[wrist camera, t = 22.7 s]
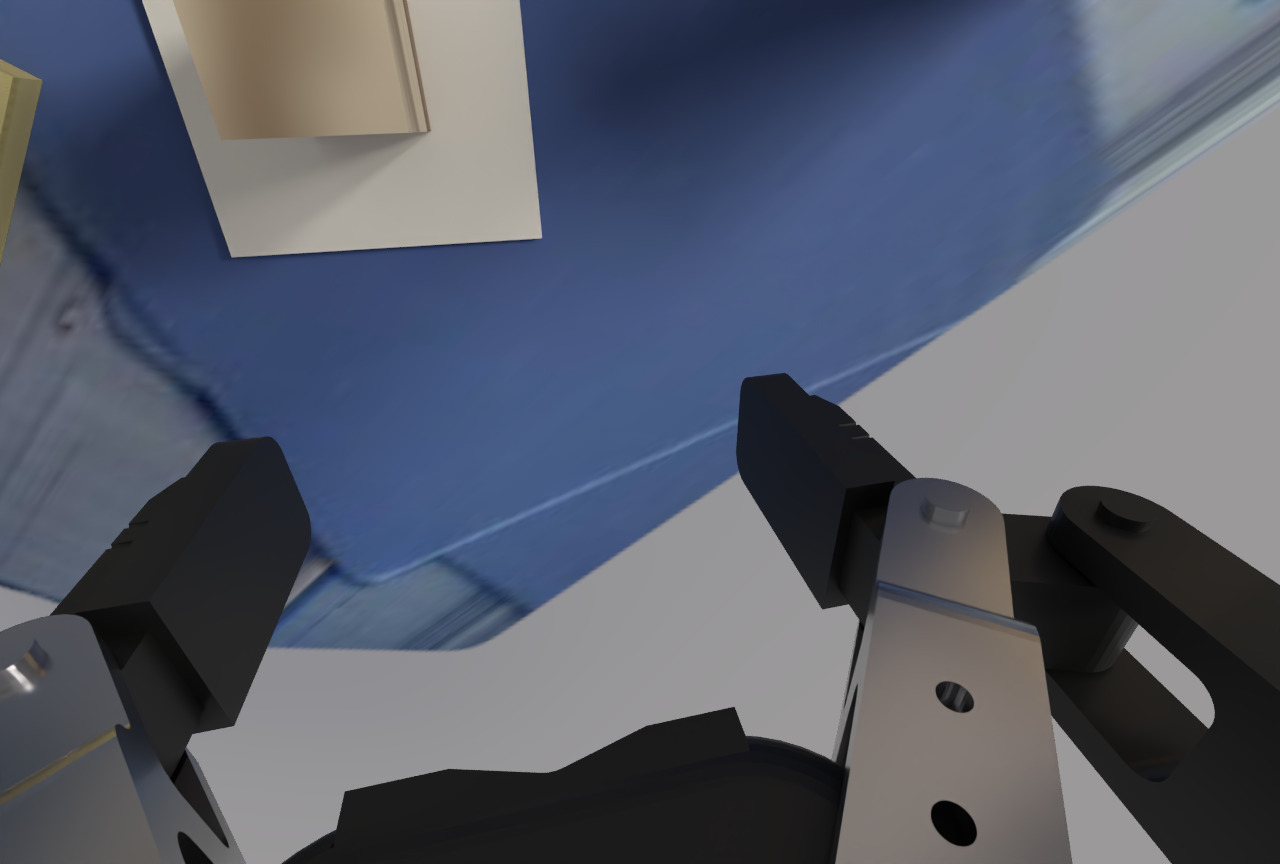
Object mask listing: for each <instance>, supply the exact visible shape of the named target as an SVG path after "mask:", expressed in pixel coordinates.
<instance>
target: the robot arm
mask: <svg viewBox="0 0 1280 864" xmlns="http://www.w3.org/2000/svg"><path fill="white" fill-rule="evenodd" d="M736 456H737V464H738V469H739V472H740V475H741V478H742V480H743V482H744V484H745V485H746V487H747V489H748V490H749V492H750V493H751V495H752V496H753V498H754V500H755V502H756V503H757V505H758V506H759V508H760V510H761V511H762V513H763V514H764V516H765V518H766V519H767V521H768V522H769V524H770V526H771V527H772V529H773V531H774V532H775V534H776V535H777V537H778V539H779V540H780V542H781V543H782V545H783V547H784V548H785V550H786V552H787V553H788V555H789V556H790V558H791V560H792V561H793V563H794V564H795V566H796V568H797V569H798V571H799V573H800V574H801V576H802V577H803V579H804V581H805V582H806V584H807V586H808V587H809V589H810V590H811V592H812V593H813V595H814V597H815V598H816V600H817V602H818V603H819V605H820V606H821V608H822V609H826V608H831V607H837V606H842V605H847V604H849V605H850V606H851V608H852V609H853V611H854V612H855V614H856V615H857V617H858V618H859V622H858V626H857V630H856V635H855V641H854V646H853V651H852V657H851V662H850V668H849V673H848V678H847V684H846V689H845V694H844V700H843V705H842V711H841V716H840V722H839V727H838V731H837V737H836V741H835V746H834V750H833V754H832V759H831V760H830V759H828V758H826V757H825V756H822V755H820V754H817V753H815V752H813V751H810V750H808V749H806V748H803V747H800V746H797V745H794V744H790V743H787V742H783V741H780V740H774V739H769V738H763V737H754V736H745V734H744V731H743V728H742V725H741V723H740V720H739V717H738V715H737V712H736V710H735V707H732V708H727V709H722V710H718V711H713V712H708V713H704V714H700V715H695V716H690V717H686V718H681V719H676V720H672V721H667V722H663V723H658V724H653V725H649V726H645V727H644V728H642V729H639V730H638V731H635V732H633V733H632V734H630V735H628V736H626V737H624V738H622V739H620V740H618V741H616V742H614V743H612V744H610V745H608V746H606V747H604V748H602V749H600V750H598V751H596V752H594V753H592V754H590V755H588V756H586V757H584V758H582V759H580V760H578V761H576V762H574V763H572V764H570V765H568V766H566V767H564V768H562V769H559V770H557V771H554V772H549V773H530V772H506V771H483V770H460V769H447V770H442V771H438V772H433V773H428V774H424V775H419V776H414V777H410V778H405V779H401V780H396V781H391V782H387V783H382V784H378V785H373V786H368V787H364V788H360V789H355V790H350V791H345V793H344V798H343V802H342V807H341V811H340V816H339V820H338V825H337V829H336V830H335V831H333V832H331V833H329V834H327V835H325V836H323V837H321V838H320V839H318V840H317V841H315V842H313V843H311V844H310V845H308V846H307V847H305V848H303V849H302V850H300V851H298V852H297V853H295V854H294V855H293V856H291V857H290V858H289V859H287V860H286V861H284V862H283V863H282V864H1072V858H1071V851H1070V843H1069V837H1068V830H1067V822H1066V816H1065V808H1064V801H1063V794H1062V788H1061V781H1060V774H1059V768H1058V760H1057V753H1056V746H1055V739H1054V732H1053V725H1052V718H1051V716H1052V717H1053V718H1054V719H1055V720H1056V722H1057V723H1058V724H1059V725H1060V727H1061V728H1062V729H1063V730H1064V732H1065V733H1066V734H1067V735H1068V736H1069V738H1070V739H1071V740H1072V741H1073V743H1074V744H1075V745H1076V746H1077V748H1078V749H1079V750H1080V751H1081V752H1082V754H1083V755H1084V756H1085V757H1086V759H1087V760H1088V761H1089V762H1090V763H1091V765H1092V766H1093V767H1094V768H1095V770H1096V771H1097V772H1098V773H1099V774H1100V776H1101V777H1102V778H1103V779H1104V781H1105V782H1106V783H1107V784H1108V786H1109V787H1110V788H1111V789H1112V791H1113V792H1114V793H1115V794H1116V795H1117V797H1118V798H1119V799H1120V800H1121V802H1122V803H1123V804H1124V805H1125V807H1126V808H1127V809H1128V810H1129V812H1130V813H1131V814H1132V815H1133V816H1134V818H1135V819H1136V820H1137V821H1138V823H1139V824H1140V825H1141V826H1142V828H1143V829H1144V830H1145V831H1146V832H1147V834H1148V835H1149V836H1150V837H1151V839H1152V840H1153V841H1154V842H1155V843H1156V845H1157V846H1158V847H1159V848H1160V850H1161V851H1162V852H1163V853H1164V854H1165V856H1166V857H1167V858H1168V860H1169V861H1170V862H1171V863H1172V864H1280V585H1279V584H1277V583H1276V582H1274V581H1273V580H1271V579H1270V578H1268V577H1267V576H1265V575H1264V574H1262V573H1261V572H1259V571H1258V570H1257V569H1255V568H1254V567H1252V566H1250V565H1249V564H1248V563H1246V562H1245V561H1243V560H1241V559H1240V558H1239V557H1237V556H1236V555H1234V554H1233V553H1231V552H1230V551H1228V550H1227V549H1225V548H1224V547H1222V546H1221V545H1219V544H1218V543H1216V542H1215V541H1213V540H1212V539H1210V538H1209V537H1207V536H1206V535H1205V534H1203V533H1201V532H1200V531H1199V530H1197V529H1196V528H1194V527H1193V526H1191V525H1190V524H1188V523H1187V522H1185V521H1183V520H1182V519H1181V518H1179V517H1178V516H1176V515H1175V514H1173V513H1172V512H1170V511H1169V510H1167V509H1165V508H1164V507H1162V506H1160V505H1158V504H1156V503H1154V502H1152V501H1150V500H1148V499H1145V498H1143V497H1141V496H1138V495H1135V494H1132V493H1129V492H1125V491H1122V490H1118V489H1113V488H1107V487H1100V486H1080V487H1074V488H1071V489H1069V490H1067V491H1066V492H1064V493H1063V494H1062V496H1061V497H1060V500H1059V502H1058V504H1057V506H1056V508H1055V511H1054V513H1053V515H1052V517H1045V516H1029V515H1015V514H1001V512H1000V510H999V509H998V508H997V507H996V505H994V504H993V502H991V501H990V500H989V499H988V498H986V497H985V496H984V495H982V494H981V493H979V492H977V491H975V490H973V489H971V488H969V487H966V486H964V485H961V484H958V483H955V482H951V481H947V480H942V479H935V478H915V477H914V476H913V475H912V474H911V473H910V472H909V471H908V470H907V469H906V468H905V467H903V466H902V465H901V464H900V463H899V462H898V461H897V460H896V459H895V458H894V457H893V456H892V455H890V453H888V452H887V451H886V450H885V449H884V448H883V447H882V446H881V445H880V444H879V443H878V442H877V441H876V440H874V438H869V434H868V433H867V432H866V431H865V430H864V429H863V428H862V427H861V426H860V425H856V422H855V421H854V420H853V419H852V418H851V417H850V416H849V415H848V414H846V412H844V411H843V410H842V409H841V408H840V407H839V406H837V405H835V404H833V403H831V402H829V401H827V400H824V399H822V398H820V397H818V396H816V395H812V396H809V395H808V394H807V393H806V392H805V391H804V390H803V389H802V388H801V387H800V386H799V385H798V384H797V383H796V382H795V381H794V380H793V379H792V378H791V377H790V376H789V375H788V374H786V373H780V374H772V375H764V376H755V377H747V378H745V379H744V380H743V382H742V385H741V391H740V405H739V419H738V433H737V447H736ZM310 541H311V524H310V518H309V514H308V511H307V509H306V506H305V504H304V502H303V499H302V497H301V495H300V492H299V490H298V487H297V485H296V483H295V480H294V478H293V476H292V473H291V471H290V469H289V466H288V464H287V461H286V459H285V457H284V454H283V452H282V450H281V448H280V446H279V445H278V443H277V442H276V441H275V440H274V439H273V438H271V437H259V438H251V439H243V440H234V441H226V442H218V443H215V444H213V445H212V446H211V447H210V448H209V449H208V450H207V452H206V453H205V454H204V455H203V456H202V458H201V459H200V460H199V461H198V463H197V464H196V465H195V466H194V467H193V469H192V470H191V471H190V472H189V474H188V475H187V476H186V477H184V478H181V479H179V480H178V481H176V482H175V483H173V484H172V485H170V486H169V487H167V488H166V489H165V490H163V491H162V492H160V493H159V494H157V495H156V496H154V497H153V498H151V499H150V500H149V501H148V502H147V503H146V504H145V506H144V507H143V508H142V509H141V510H140V511H139V512H138V514H137V515H136V516H135V517H134V518H133V519H132V521H131V522H130V523H129V528H127V529H124V530H123V531H122V532H121V533H120V535H119V536H118V537H117V538H116V539H115V540H114V541H113V543H112V544H111V545H112V549H107V550H106V551H105V552H104V553H103V554H102V555H101V557H100V558H99V559H98V560H97V561H96V562H95V564H94V565H93V566H92V567H91V568H90V569H89V570H88V572H87V573H86V574H85V575H84V576H83V577H82V579H81V580H80V581H79V582H78V583H77V584H76V586H75V587H74V588H73V589H72V590H71V591H70V593H69V594H68V595H67V596H66V597H65V598H64V599H63V601H62V602H61V603H60V604H59V605H58V606H57V608H56V609H55V610H54V611H53V612H52V613H51V615H50V616H47V617H41V618H38V619H34V620H31V621H27V622H24V623H21V624H18V625H16V626H13V627H11V628H9V629H6V630H4V631H1V632H0V864H246V862H245V860H244V858H243V856H242V854H241V852H240V850H239V848H238V846H237V843H236V841H235V839H234V837H233V835H232V833H231V831H230V829H229V827H228V824H227V822H226V820H225V818H224V816H223V814H222V812H221V810H220V808H219V806H218V804H217V801H216V799H215V797H214V795H213V793H212V791H211V789H210V787H209V785H208V783H207V780H206V778H205V776H204V774H203V772H202V770H201V768H200V766H199V764H198V762H197V761H196V759H195V758H194V756H193V755H192V754H191V753H190V752H189V750H188V749H187V748H186V746H187V744H188V742H189V740H190V738H191V736H192V734H195V733H200V732H205V731H211V730H216V729H220V728H226V727H231V726H234V725H235V722H236V720H237V718H238V715H239V713H240V710H241V708H242V706H243V703H244V701H245V699H246V696H247V693H248V691H249V689H250V687H251V684H252V682H253V679H254V677H255V675H256V673H257V670H258V668H259V665H260V663H261V661H262V658H263V656H264V654H265V651H266V649H267V646H268V644H269V642H270V639H271V637H272V635H273V632H274V630H275V627H276V625H277V623H278V620H279V618H280V616H281V613H282V611H283V609H284V606H285V604H286V601H287V599H288V597H289V594H290V592H291V590H292V587H293V585H294V582H295V580H296V578H297V575H298V573H299V571H300V568H301V566H302V563H303V561H304V559H305V556H306V554H307V552H308V549H309V546H310ZM1138 624H1139V625H1140V626H1141V627H1142V628H1144V629H1145V630H1146V631H1147V632H1148V633H1149V634H1150V635H1151V636H1153V637H1154V638H1155V639H1156V640H1157V641H1158V642H1159V643H1160V644H1161V645H1163V646H1164V647H1165V648H1166V649H1167V650H1168V651H1169V652H1170V653H1172V654H1173V655H1174V656H1175V657H1176V658H1177V659H1178V660H1179V661H1180V662H1182V663H1183V664H1184V665H1185V666H1186V667H1187V668H1188V669H1189V670H1191V671H1192V672H1193V673H1194V674H1195V675H1196V676H1197V677H1198V678H1199V679H1200V681H1201V682H1202V683H1203V684H1204V686H1205V687H1206V689H1207V690H1208V692H1209V694H1210V696H1211V698H1212V701H1213V704H1214V709H1215V718H1214V722H1213V724H1212V725H1211V727H1210V728H1209V729H1208V728H1207V727H1206V726H1205V725H1204V724H1203V723H1202V722H1201V721H1200V720H1199V719H1198V718H1197V717H1196V716H1194V715H1193V714H1192V713H1191V712H1190V711H1189V710H1188V709H1187V708H1186V707H1185V706H1184V705H1183V704H1182V703H1181V702H1180V701H1179V700H1178V699H1177V698H1176V697H1175V696H1174V695H1173V694H1172V693H1171V692H1169V691H1168V690H1167V689H1166V688H1165V687H1164V686H1163V685H1162V684H1161V683H1160V682H1159V681H1158V680H1157V679H1156V678H1155V677H1154V676H1153V675H1152V674H1151V673H1150V672H1149V671H1148V670H1147V669H1146V668H1144V667H1143V666H1142V665H1141V664H1140V663H1139V662H1138V661H1137V660H1136V659H1135V658H1134V657H1133V656H1132V655H1131V654H1130V653H1129V652H1128V651H1127V650H1126V649H1125V648H1124V647H1125V645H1126V643H1127V642H1128V640H1129V639H1130V637H1131V635H1132V634H1133V632H1134V631H1135V629H1136V628H1137V626H1138Z"/></svg>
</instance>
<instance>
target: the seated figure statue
mask: <svg viewBox="0 0 1280 864" xmlns="http://www.w3.org/2000/svg"><path fill="white" fill-rule="evenodd" d="M42 81H43V80H41V79H39V78H37V77H35V76H33V75H31V74H29V73H27V72H25V71H23V70H21V69H19V68H17V67H15V66H13V65H11V64H9V63H7V62H5V61H3V60H1V59H0V265H1V261H2V257H3V252H4V248H5V243H6V239H7V235H8V230H9V226H10V221H11V217H12V213H13V208H14V204H15V199H16V195H17V191H18V186H19V182H20V178H21V173H22V169H23V164H24V160H25V156H26V151H27V147H28V142H29V138H30V134H31V129H32V125H33V121H34V116H35V112H36V107H37V103H38V99H39V94H40V90H41V85H42Z"/></svg>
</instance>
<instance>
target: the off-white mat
mask: <svg viewBox="0 0 1280 864" xmlns="http://www.w3.org/2000/svg"><path fill="white" fill-rule="evenodd" d="M142 2H143V5H144V8H145V10H146V13H147V16H148V19H149V22H150V25H151V28H152V30H153V33H154V36H155V39H156V42H157V45H158V48H159V50H160V53H161V56H162V59H163V62H164V65H165V68H166V71H167V73H168V76H169V79H170V82H171V85H172V88H173V91H174V93H175V96H176V99H177V102H178V105H179V108H180V111H181V114H182V116H183V119H184V122H185V125H186V128H187V131H188V134H189V136H190V139H191V142H192V145H193V148H194V151H195V154H196V157H197V159H198V162H199V165H200V168H201V171H202V174H203V177H204V179H205V182H206V185H207V188H208V191H209V194H210V197H211V200H212V202H213V205H214V208H215V211H216V214H217V217H218V220H219V222H220V225H221V228H222V231H223V234H224V237H225V240H226V243H227V245H228V248H229V251H230V254H231V257H248V256H264V255H280V254H296V253H313V252H329V251H345V250H361V249H377V248H394V247H410V246H426V245H442V244H458V243H475V242H491V241H507V240H523V239H540V238H542V231H541V221H540V210H539V200H538V189H537V179H536V168H535V158H534V147H533V137H532V126H531V116H530V105H529V95H528V84H527V74H526V63H525V53H524V42H523V32H522V21H521V11H520V0H407V3H408V9H409V14H410V20H411V25H412V30H413V36H414V41H415V47H416V52H417V57H418V63H419V68H420V74H421V79H422V84H423V90H424V95H425V101H426V106H427V111H428V117H429V122H430V128H431V131H428V132H413V133H391V134H365V135H340V136H314V137H289V138H263V139H238V140H221V139H220V136H219V134H218V131H217V128H216V125H215V122H214V119H213V116H212V113H211V110H210V107H209V104H208V102H207V99H206V96H205V93H204V90H203V87H202V84H201V81H200V78H199V75H198V72H197V70H196V67H195V64H194V61H193V58H192V55H191V52H190V49H189V46H188V43H187V40H186V38H185V35H184V32H183V29H182V26H181V23H180V20H179V17H178V14H177V11H176V8H175V6H174V3H173V0H142Z"/></svg>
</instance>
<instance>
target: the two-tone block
mask: <svg viewBox="0 0 1280 864" xmlns="http://www.w3.org/2000/svg"><path fill="white" fill-rule="evenodd" d="M173 3H174V6H175V8H176V11H177V14H178V17H179V20H180V23H181V26H182V29H183V32H184V35H185V38H186V40H187V43H188V46H189V49H190V52H191V55H192V58H193V61H194V64H195V67H196V70H197V72H198V75H199V78H200V81H201V84H202V87H203V90H204V93H205V96H206V99H207V102H208V104H209V107H210V110H211V113H212V116H213V119H214V122H215V125H216V128H217V131H218V134H219V136H220V139H221V140H238V139H263V138H289V137H314V136H340V135H365V134H391V133H413V132H428V131H431V128H430V122H429V117H428V111H427V106H426V101H425V95H424V90H423V84H422V79H421V74H420V68H419V63H418V57H417V52H416V47H415V41H414V36H413V30H412V25H411V20H410V14H409V9H408V3H407V0H173Z"/></svg>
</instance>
